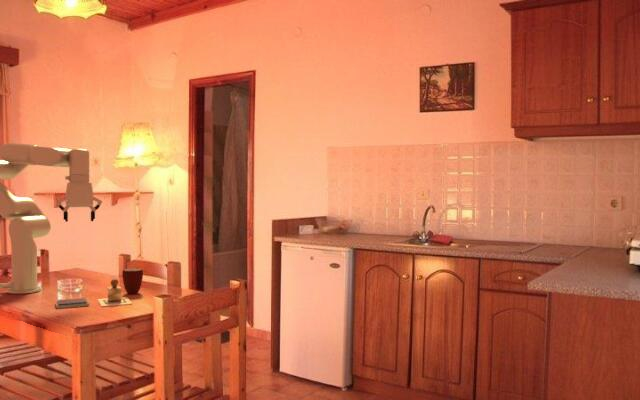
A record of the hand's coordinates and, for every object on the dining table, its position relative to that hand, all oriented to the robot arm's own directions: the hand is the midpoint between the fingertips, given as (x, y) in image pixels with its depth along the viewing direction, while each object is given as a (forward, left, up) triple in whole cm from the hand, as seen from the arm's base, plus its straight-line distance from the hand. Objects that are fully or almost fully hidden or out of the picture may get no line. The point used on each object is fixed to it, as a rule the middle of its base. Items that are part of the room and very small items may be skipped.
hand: (79, 221), depth 229 cm
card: (+11, -20, -30) cm, 38 cm away
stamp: (+11, -20, -30) cm, 38 cm away
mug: (+20, -4, -31) cm, 37 cm away
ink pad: (-4, -19, -30) cm, 36 cm away
